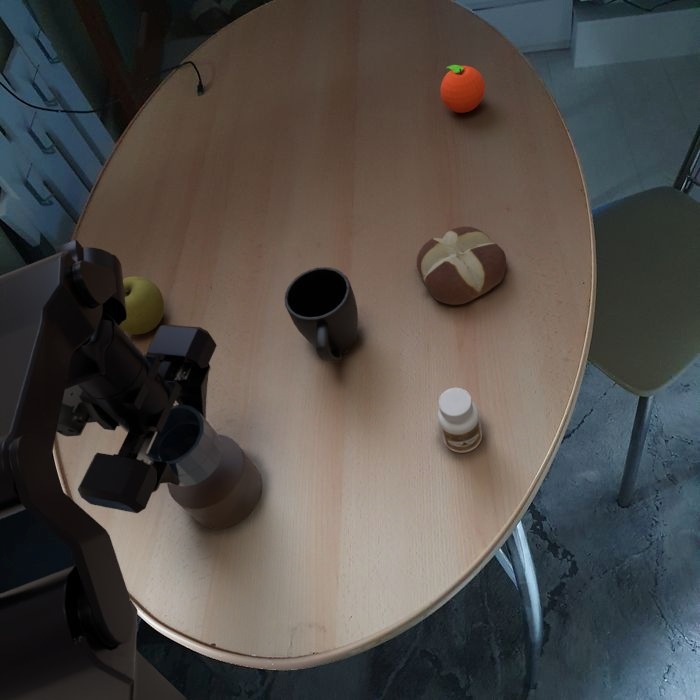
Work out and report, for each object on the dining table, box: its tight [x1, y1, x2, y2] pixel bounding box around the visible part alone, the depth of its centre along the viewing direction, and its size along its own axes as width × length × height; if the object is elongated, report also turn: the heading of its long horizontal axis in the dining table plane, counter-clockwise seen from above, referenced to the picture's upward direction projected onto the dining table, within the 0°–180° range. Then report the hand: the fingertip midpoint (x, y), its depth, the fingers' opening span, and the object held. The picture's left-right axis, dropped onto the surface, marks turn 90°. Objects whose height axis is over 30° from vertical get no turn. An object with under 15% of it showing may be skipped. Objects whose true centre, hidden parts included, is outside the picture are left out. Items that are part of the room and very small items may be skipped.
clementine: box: [440, 64, 486, 114], centre depth 107 cm, size 8×7×7 cm
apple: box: [119, 275, 165, 335], centre depth 95 cm, size 8×8×7 cm
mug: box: [284, 266, 359, 363], centre depth 83 cm, size 8×12×10 cm
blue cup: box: [148, 403, 223, 486], centre depth 69 cm, size 7×7×6 cm
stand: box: [166, 433, 263, 530], centre depth 77 cm, size 9×9×6 cm
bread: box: [416, 226, 507, 305], centre depth 88 cm, size 11×11×5 cm
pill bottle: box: [436, 387, 483, 454], centre depth 73 cm, size 4×4×8 cm
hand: (188, 451), depth 70 cm, fingers closed on blue cup, 7 cm apart
